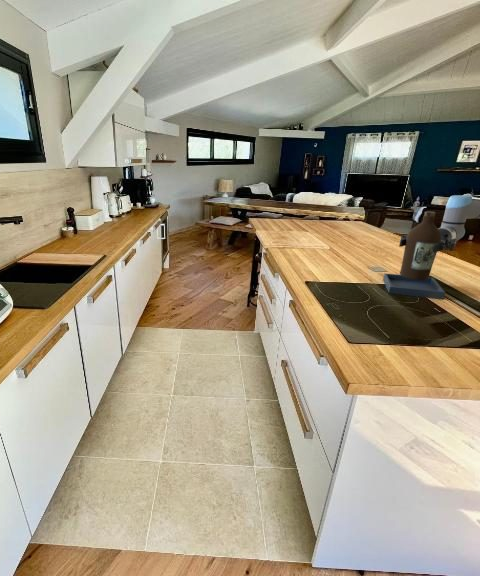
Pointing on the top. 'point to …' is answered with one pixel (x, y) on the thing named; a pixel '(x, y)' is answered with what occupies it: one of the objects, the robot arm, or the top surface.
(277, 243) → the top surface
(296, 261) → the top surface
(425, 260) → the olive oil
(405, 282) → the tray
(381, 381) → the top surface
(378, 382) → the top surface
